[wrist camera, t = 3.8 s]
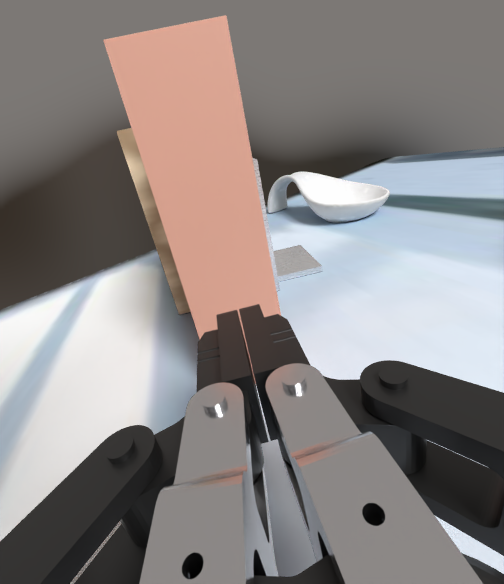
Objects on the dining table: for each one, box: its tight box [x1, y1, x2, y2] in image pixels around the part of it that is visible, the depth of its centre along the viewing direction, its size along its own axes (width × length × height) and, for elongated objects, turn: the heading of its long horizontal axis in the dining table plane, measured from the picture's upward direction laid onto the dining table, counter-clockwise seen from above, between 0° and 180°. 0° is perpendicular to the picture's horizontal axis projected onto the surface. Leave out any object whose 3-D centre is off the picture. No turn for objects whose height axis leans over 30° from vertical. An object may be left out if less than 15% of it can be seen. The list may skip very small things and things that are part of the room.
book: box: [104, 16, 281, 384], centre depth 22 cm, size 5×14×18 cm, turn 8°
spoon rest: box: [268, 172, 390, 222], centre depth 53 cm, size 24×12×7 cm, turn 36°
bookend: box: [253, 159, 322, 291], centre depth 34 cm, size 6×12×12 cm, turn 8°
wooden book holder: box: [117, 128, 191, 315], centre depth 34 cm, size 10×14×16 cm
